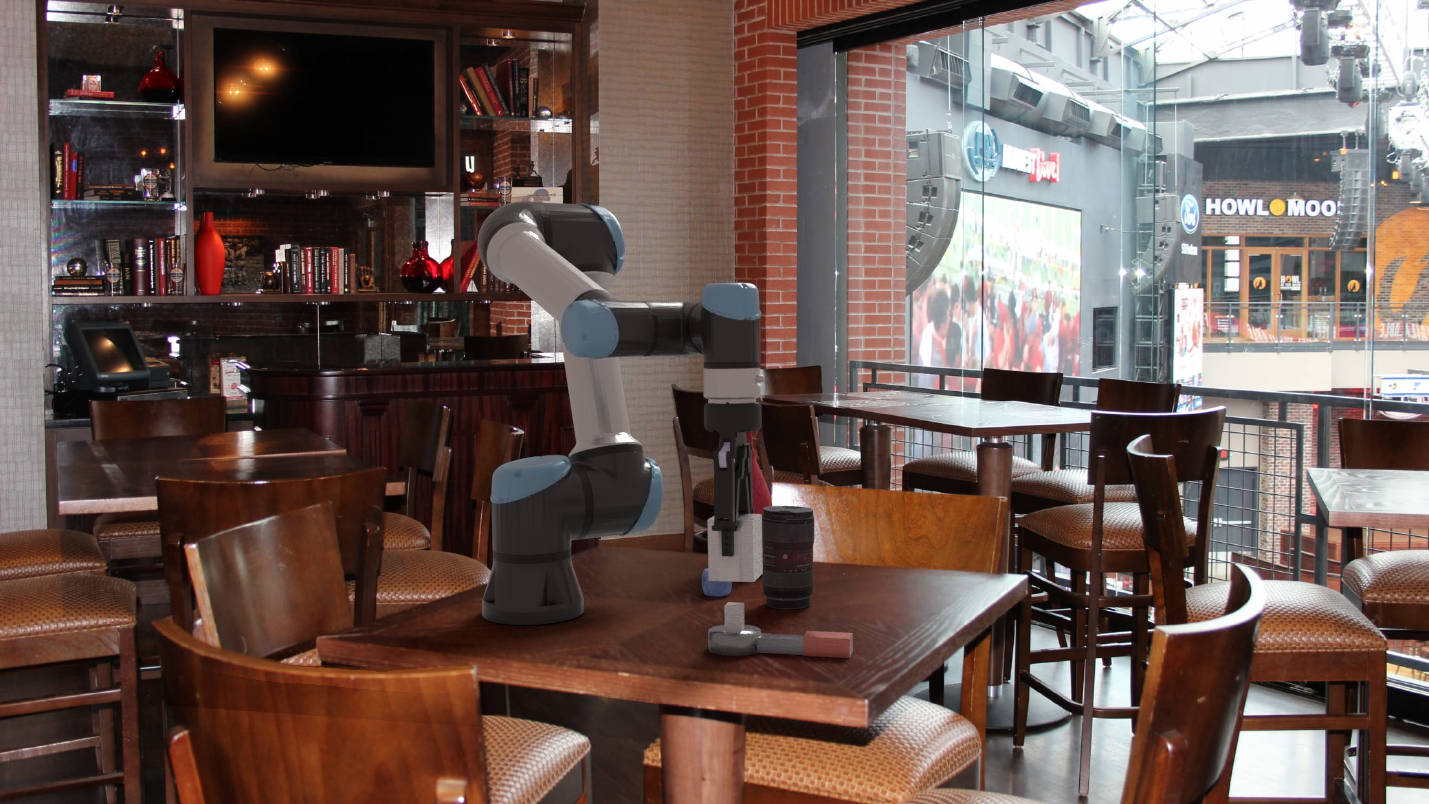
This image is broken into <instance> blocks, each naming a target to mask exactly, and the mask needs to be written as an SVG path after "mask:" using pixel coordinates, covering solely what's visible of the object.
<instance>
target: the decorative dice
mask: <svg viewBox="0 0 1429 804" xmlns="http://www.w3.org/2000/svg"><path fill="white" fill-rule="evenodd" d="M701 585H702V591H703V594H704V595H705V596H707V597H714V598H715V597H716V598H717V597H725V596H729V595H730V594H731V592H732V587H733V581H709V569H708V568H705V569H704V570H703V572H702V574H701Z"/></svg>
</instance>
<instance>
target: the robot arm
mask: <svg viewBox="0 0 1429 804" xmlns="http://www.w3.org/2000/svg"><path fill="white" fill-rule="evenodd" d="M624 237H625V236H624V234H623V230H622V227H621V225H620V222H619V221H618V219H617V218H616V216H615V215H614V214H613V212H611V211H609V210H608V209H606V207H603V206H600V205H590V204H588V203H583V202H582V203H581V202H579V203H563V202H562V203H559V202H541V201H540V202H539V201H538V202H537V201H527V200H521V201H514V202H510V203H507V204H504V205H501V206H499V207H498V208H497V209H495V210H494V211H493V212H491V213H490V214H489V215H488V216H487V217H486V218H485V220H484V221H483V223H482V225H481V227H480V229H479V232H478V236H477V251H478V255H479V257H480V261H481V263H482V264H483V265H484V267H485V268H486V269H487V270H488V272H490V273H491V274H492V275H493V276H494V277H496V278H497V279H498V280H499V281H502V282H503V283H508V284H514V285H515V286H516V287H517V288H519V289H520V290H521V291H522V292H523V293H524V294H526V296H527V297H529V298H530V299H531V300H532V301H534V302H535V303H536V304H537V305H538V306H540V307H541V308H542V310H544V311H545V312H547V314H549V315H550V316H551V317H552V318H553V319H554V320H556V321H557V322H558V329H559V335H560V341H561V349H562V355H563V361H564V363H563V364H564V368H565V376H566V381H567V389H568V394H569V401H570V402H569V403H570V409H571V414H572V416H571V417H572V421H573V423H572V424H573V429H574V436H575V441H576V442H575V443H576V444H575V446H574V447H573V448H572V450H571V451H570V453H569V454H568V457H567V456H566V455H563V454H562V455H561V454H547V455H542V456H538V455H537V456H532V457H531V456H530V457H526V458H521V459H520V458H519V459H516V460H512V461H509V462H507V463H503V464H501V465H500V466H498V467H497V468H496V469H495V470H494V472H493V474H492V478H491V492H490V493H491V494H490V502H491V527H492V528H491V531H492V532H491V533H492V567H491V571H490V573H489V577H488V581H487V584H486V587H485V591H484V595H483V596H482V600H481V614H482V615H481V616H482V618H483V619H485V620H486V621H489V622H492V623H497V624H502V625H504V624H505V625H512V626H513V625H518V626H527V625H528V626H530V625H545V624H554V623H561V622H564V621H565V622H566V621H569V620H573V619H577V618H578V617H580V616H581V615H582V614H584V611H585V604H584V603H585V602H584V595H583V592H582V589H581V586H580V584H579V580H578V577H577V575H576V571H575V569H574V566H573V561H572V541H576V540H578V541H579V540H585V539H587V540H588V539H592V538H593V539H594V538H604V537H613V536H619V537H625V536H627V535H630V534H634V533H636V534H637V533H642V532H644V531H647V530H648V529H650V528H651V527H652V526H653V525H654V523H655V522H656V520H657V519H658V517H659V513H660V511H661V510H662V506H663V501H664V492H665V490H664V487H665V485H664V477H663V474H662V470H661V468H660V467H659V466H658V463H657V462H656V461H655V460H654V459H653V458H649V457H647V456H644V450H643V443H641V442H640V441H639V440H637V439H636V438H634V437H633V436H632V435H631V430H630V422H629V416H628V412H627V411H628V409H627V405H626V404H627V403H626V398H625V391H624V384H623V378H622V373H621V372H622V371H621V365H620V359H619V358H637V357H638V358H639V357H640V358H642V357H645V358H646V357H677V358H678V357H683V358H686V357H691V356H692V357H695V356H697V357H698V356H701V357H702V356H703V398H704V399H705V400H708V401H707V402H706V403H705V405H703V414H704V415H703V418H704V420H703V421H704V423H703V424H704V429H705V430H706V431H708V432H710V433H711V432H712V433H719V441H718V442H719V443H718V445H716V447H715V450H714V451H713V452H712V459H713V460H712V461H713V478H714V479H713V510H714V511H713V516H714V526H712V531H718V547H719V581H732V582H733V581H740V580H741V573H740V530H737V529H738V514H753V512H754V509H753V486H752V449H753V448H754V445H753V446H752V443H747V436H746V432H751V431H752V432H757V431H760V430H761V428H762V425H763V424H762V404H760V402H758V401H757V399H759V398H760V397H761V393H762V391H761V389H762V388H761V387H762V386H761V383H764V382H765V381H766V377H765V375H763V374H761V317H762V312H761V311H762V310H760V307H761V306H760V296H759V295H760V294H759V293H760V292H759V289H758V287H757V286H756V285H755V284H753V283H751V282H719V283H718V282H716V283H715V282H714V283H708V284H705V286H704V287H703V288H702V294H701V295H702V296H701V300H619V299H618V298H616V297H615V296H614V295H612V294H611V293H609V290H610V289H611V288H613V286H614V284H615V283H616V275H617V274H619V272H620V271H621V269H622V267H623V265H624V263H625V257H624V254H625V253H626V244H625V239H624Z"/></svg>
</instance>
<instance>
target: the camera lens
mask: <svg viewBox="0 0 1429 804" xmlns="http://www.w3.org/2000/svg"><path fill="white" fill-rule="evenodd" d="M762 516H763V517H762V543H763V553H762V562H763V574H762V575H761V576H762V577H761V578H762V579H761V580H762V589H763V595H764V596H765V597H766V606H768V607H769V608H773V609H777V610H797V609H803V608H807V607H809V606H810V604H811V596H812V595H813V591H814V590H813V589H814V588H813V587H814V582H815V580H814V579H815V576H814V575H815V571H814V544H815V533H816V532H815V522H816V521H815V514H814V509H813V508H811V507H806V506H797V505H772V506H769V507H765V508H764V511H763V515H762Z"/></svg>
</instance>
